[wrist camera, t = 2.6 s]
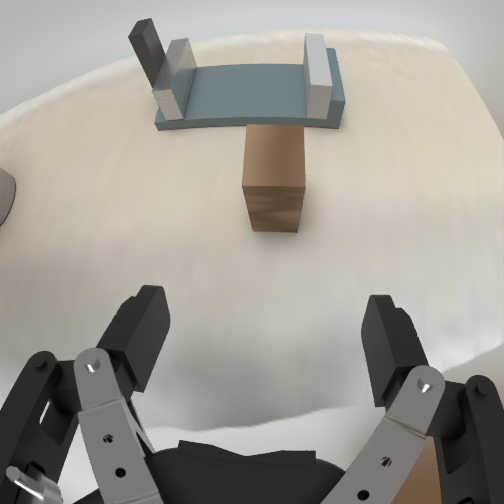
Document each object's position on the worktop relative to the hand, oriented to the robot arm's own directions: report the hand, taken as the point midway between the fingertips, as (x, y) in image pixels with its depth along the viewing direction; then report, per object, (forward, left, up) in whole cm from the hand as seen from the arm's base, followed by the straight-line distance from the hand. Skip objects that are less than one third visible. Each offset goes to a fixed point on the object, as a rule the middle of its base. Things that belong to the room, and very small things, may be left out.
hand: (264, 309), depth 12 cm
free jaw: (-19, +19, -13) cm, 30 cm away
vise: (-12, +22, -15) cm, 29 cm away
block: (-4, +10, -15) cm, 18 cm away
